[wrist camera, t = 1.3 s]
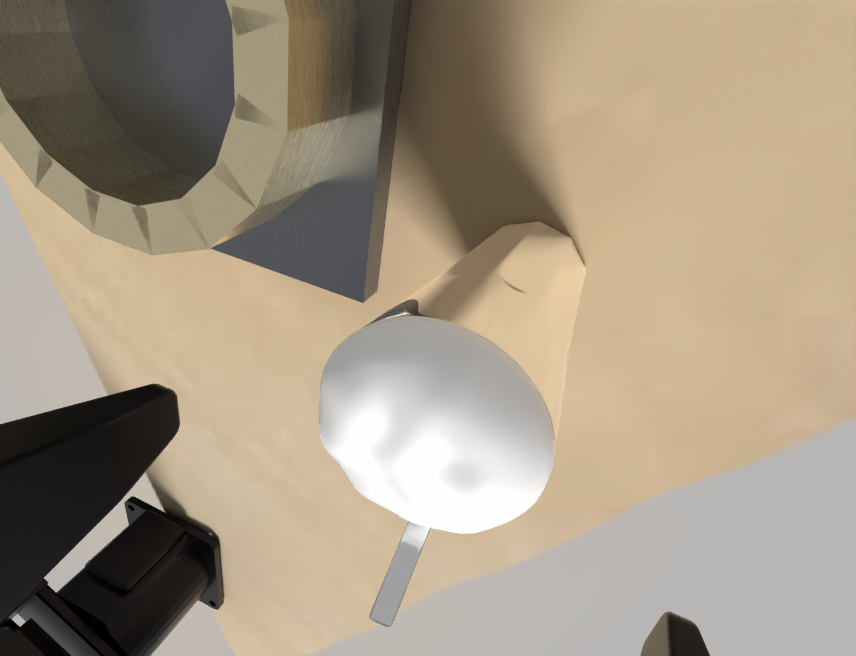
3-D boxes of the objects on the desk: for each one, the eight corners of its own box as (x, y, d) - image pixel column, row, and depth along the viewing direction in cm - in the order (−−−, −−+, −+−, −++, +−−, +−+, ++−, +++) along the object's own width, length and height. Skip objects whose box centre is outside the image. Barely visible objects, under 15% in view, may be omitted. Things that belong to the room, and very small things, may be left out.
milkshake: (452, 340, 19) (274, 576, 11) (467, 185, 16) (245, 346, 8) (585, 376, 18) (496, 677, 10) (626, 213, 15) (551, 440, 7)
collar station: (376, 291, 19) (313, 345, 16) (75, 185, 23) (-27, 212, 20) (443, -280, 12) (349, -394, 9) (-20, -304, 15) (-210, -390, 12)
